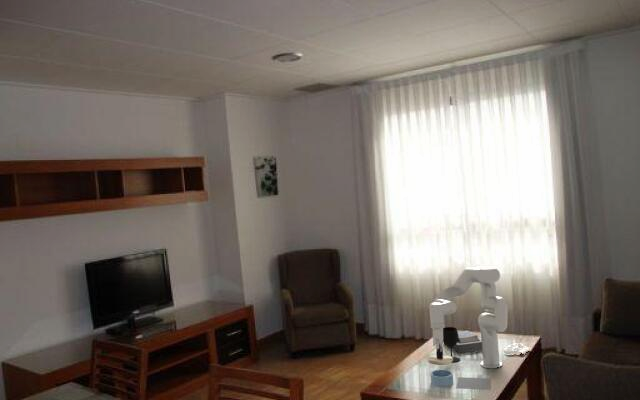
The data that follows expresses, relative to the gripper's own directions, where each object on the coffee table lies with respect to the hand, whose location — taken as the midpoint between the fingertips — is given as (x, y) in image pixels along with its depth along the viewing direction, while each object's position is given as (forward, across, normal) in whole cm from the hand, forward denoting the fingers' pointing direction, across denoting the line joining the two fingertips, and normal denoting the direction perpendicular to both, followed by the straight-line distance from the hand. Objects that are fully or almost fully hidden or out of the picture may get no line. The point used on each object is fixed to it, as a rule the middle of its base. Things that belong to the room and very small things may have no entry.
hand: (440, 356), depth 296 cm
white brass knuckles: (+16, -58, +41) cm, 72 cm away
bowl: (+15, 0, 0) cm, 15 cm away
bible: (+16, -66, +8) cm, 68 cm away
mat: (+15, -1, +17) cm, 23 cm away
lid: (+2, 0, 0) cm, 2 cm away
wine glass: (+15, -39, +2) cm, 42 cm away
